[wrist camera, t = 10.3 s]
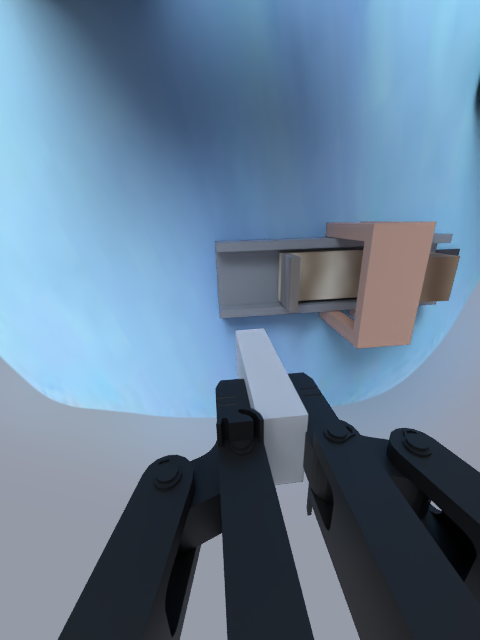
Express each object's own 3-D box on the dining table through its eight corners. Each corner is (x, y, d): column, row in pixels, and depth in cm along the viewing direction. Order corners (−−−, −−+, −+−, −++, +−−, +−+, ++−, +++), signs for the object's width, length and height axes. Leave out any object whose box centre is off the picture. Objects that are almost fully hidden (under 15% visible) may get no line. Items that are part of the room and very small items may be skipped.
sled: (277, 299, 35) (291, 314, 29) (278, 252, 33) (294, 258, 27) (413, 291, 37) (451, 304, 31) (422, 246, 35) (465, 251, 29)
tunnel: (319, 316, 38) (357, 348, 28) (326, 222, 33) (374, 223, 24) (359, 313, 38) (410, 344, 29) (372, 221, 34) (436, 221, 24)
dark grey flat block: (423, 283, 38) (425, 284, 37) (430, 250, 36) (432, 250, 36) (449, 282, 38) (451, 282, 38) (457, 248, 37) (459, 249, 36)
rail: (219, 311, 36) (220, 318, 33) (215, 241, 33) (215, 243, 30) (420, 298, 39) (435, 304, 36) (434, 233, 35) (452, 234, 33)
